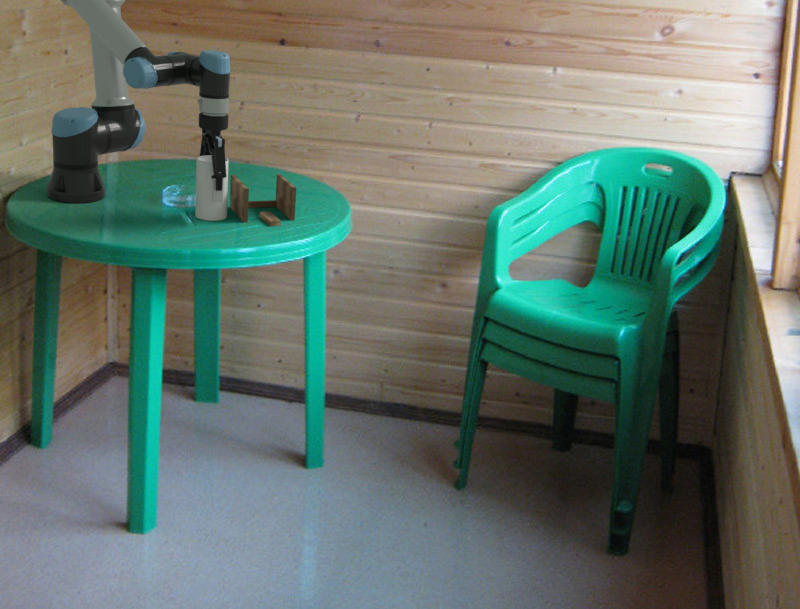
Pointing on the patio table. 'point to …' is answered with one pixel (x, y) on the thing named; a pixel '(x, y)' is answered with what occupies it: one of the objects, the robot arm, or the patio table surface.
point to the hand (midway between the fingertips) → (211, 195)
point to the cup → (209, 191)
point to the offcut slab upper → (270, 219)
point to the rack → (283, 201)
